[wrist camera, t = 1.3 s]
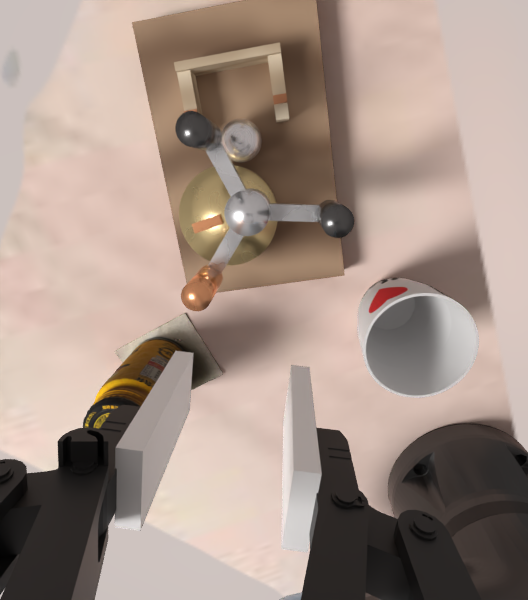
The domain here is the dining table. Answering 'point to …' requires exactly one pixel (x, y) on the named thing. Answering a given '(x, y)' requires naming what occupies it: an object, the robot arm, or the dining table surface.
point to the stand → (256, 108)
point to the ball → (241, 140)
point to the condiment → (151, 367)
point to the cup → (415, 338)
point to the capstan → (235, 212)
